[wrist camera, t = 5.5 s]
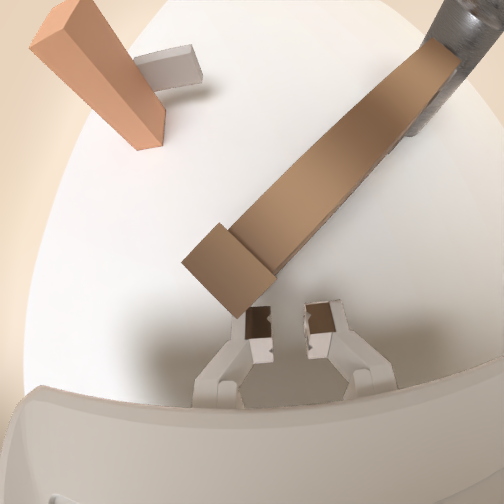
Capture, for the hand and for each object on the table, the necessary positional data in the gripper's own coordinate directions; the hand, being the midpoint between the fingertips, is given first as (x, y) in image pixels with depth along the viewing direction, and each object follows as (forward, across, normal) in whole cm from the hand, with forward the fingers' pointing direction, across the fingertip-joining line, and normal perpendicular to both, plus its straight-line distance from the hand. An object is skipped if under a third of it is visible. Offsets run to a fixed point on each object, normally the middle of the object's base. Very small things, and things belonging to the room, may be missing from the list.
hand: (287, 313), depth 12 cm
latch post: (+12, +6, -6) cm, 15 cm away
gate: (+7, -3, -1) cm, 8 cm away
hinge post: (+12, -10, -5) cm, 16 cm away
